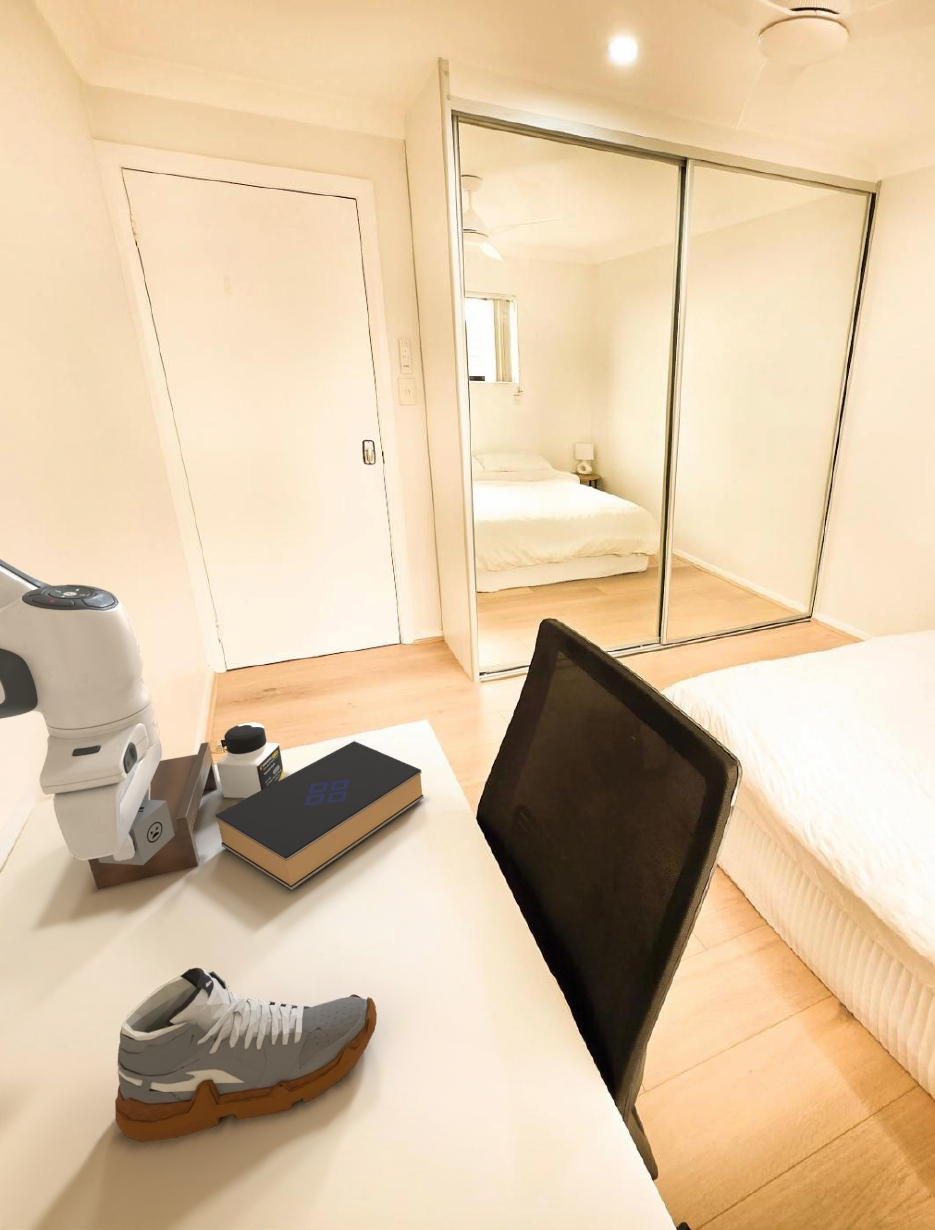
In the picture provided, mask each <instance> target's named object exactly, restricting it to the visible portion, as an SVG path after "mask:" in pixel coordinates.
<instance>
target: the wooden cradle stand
mask: <svg viewBox="0 0 935 1230" xmlns="http://www.w3.org/2000/svg"><path fill="white" fill-rule="evenodd" d="M213 759H214V758H213V754H212V750H211V744H210V742H209V741H207V742H206V741H205V742H201V743H200V745H199V749H198V752H197V754H191V755H190V754H189V755H186V756H180V757H179V756H178V757H174V758H168V759H163V760H162V759H161V760H160V762H159V764H158V767H157V769H156V771H155V774H154V776H153V778H152V780H151V783H150V800H162V801H167V805H168V809H169V813H170V818H171V822H172V826H173V830H174V834H175V836H174V837H172V838H171V839H170V840H169V841H168V842H167V843H166V844H165V845H164V846H163V847H162V848H161V849H160V850H159V851H158V852H157V853H155V854H154V855H153V856H152V857H151V858H150V859H149V860H148V861H147V862H146V863H145V864H144V865H132V864H115V863H100V862H99V859H98V858H95V859H90V860H87V861H88V864H89V867H90V870H91V874H92V876H93V880H94V883H95V886H96V889H97V890H98V891H99V890H103V889H107V888H111V887H115V886H120V885H124V884H129V883H133V882H136V881H140V880H145V879H150V878H153V877H158V876H162V875H166V874H170V873H171V874H172V873H175V872H179V871H184V870H187V869H191V868H196V867H199V865H200V856H199V852H198V848H197V843H196V840H195V836H194V832H193V831H194V830H193V829H194V826H195V823H196V819H197V816H198V812H199V809H200V808H199V807H200V806H201V802H202V797H203V794H204V792H208V791H212V790H218V788H219V782H218V778H217V776H218V775H217V772H216V767H215V764H214V763H215V762H214V760H213Z"/></svg>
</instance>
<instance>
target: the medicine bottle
mask: <svg viewBox="0 0 935 1230" xmlns="http://www.w3.org/2000/svg"><path fill="white" fill-rule="evenodd" d="M266 735H267V734H266V729H265V726H264V725H262V724H261V723H258V722H245V723H241V724H240V723H239V724H237V725H235V726H233V727H231V728H229V729H228V730H226V732H225V733H224V735H223V737H224V742H225V747H226V752H227V753H226V755H224V756H223V757H222V758H221V759H220V760H218V762H216V767H217V771H218V776H219V780H220V785H221V790H222V795H223V797H224V798H232V799H246V798H248V797H250V796H251V795H253V794H255V793H257V792H259V791H261V790H263V789H265V788H266V787H268V786H270V785H272V784H274V783H276V782H278V781H280V780H282V779H283V778H285V772H284V771H285V770H284V766H283V761H282V754H281V749H280V744H279V743H276V742H268V741H267V736H266Z"/></svg>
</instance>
